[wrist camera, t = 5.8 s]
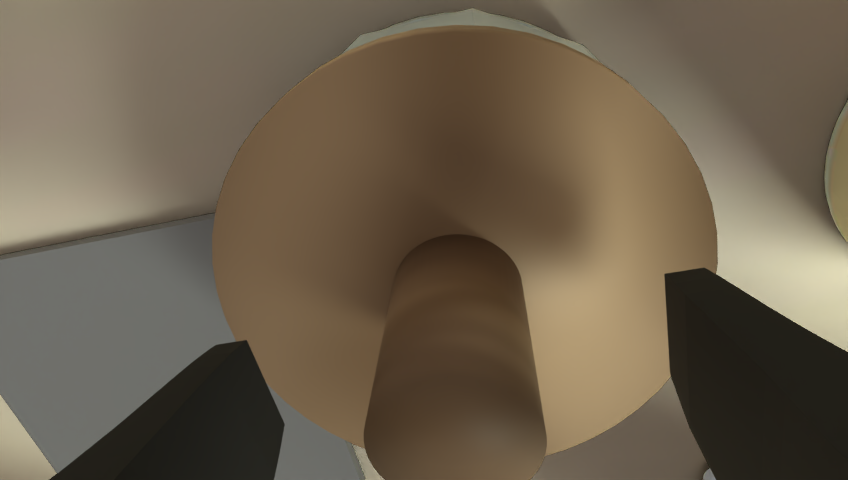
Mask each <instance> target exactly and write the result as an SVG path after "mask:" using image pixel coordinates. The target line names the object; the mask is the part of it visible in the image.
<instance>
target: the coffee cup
mask: <svg viewBox="0 0 848 480" xmlns="http://www.w3.org/2000/svg"><path fill="white" fill-rule="evenodd" d="M824 180H825V194H826V198H827V202H828V205H829V209H830V212H831V216H832V218H833V220H834V222H835V224H836V226H837V228H838V230H839V231H840V233H841V234H842V236H843V237H844V238H845V240H846V241H847V242H848V101H847V103H846V105H845V106H844V108H843V110H842V112H841V114H840V115H839V118H838V119H837V122H836V125H835V128H834V130H833V133H832V136H831V139H830V143H829V147H828V151H827V154H826V163H825V174H824Z"/></svg>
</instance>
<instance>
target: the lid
mask: <svg viewBox="0 0 848 480" xmlns="http://www.w3.org/2000/svg"><path fill="white" fill-rule="evenodd" d="M212 264H213V270H214V277H215V283H216V289H217V293H218V297H219V300H220V303H221V306H222V309H223V313H224V316H225V318H226V321H227V323H228V325H229V327H230V329H231V331H232V333H233V336H234V338H235V340H236V342H237V341H243V340H247V341H248V344H249V346H250V348H251V350H252V353H253V355H254V357H255V359H256V361H257V364H258V366H259V368H260V370H261V372H262V375H263V377H264V379H265V381H266V383H267V384H268V385H269V386H270V387H271V388H272V389H273V390H274V391H275V392H276V393H277V394H278V395H279V396H280V397H281V398H282V399H283V400H284V401H285V402H286V403H287V404H289V405H290V406H291V407H293V408H294V409H295V410H297V411H298V412H299V413H300V414H302V415H303V416H304V417H306V418H307V419H308V420H310V421H312V422H313V423H315V424H317V425H318V426H320V427H321V428H323V429H325V430H326V431H328V432H330V433H331V434H334V435H336V436H338V437H340V438H342V439H344V440H346V441H348V442H350V443H352V444H354V445H357V446H360V447H362V448H365V450H366V453H367V456H368V458H369V460H370V462H371V464H372V465H373V467H374V468H375V469H376V471H377V472H378V473H379V474H380V475H381V476H382V477H383V478H384V479H385V480H530V479H531V478H532V477H533V476H534V475H535V474H536V472H537V471H538V469H539V468H540V466H541V464H542V462H543V460H544V457H545V456H547V455H551V454H554V453H557V452H560V451H563V450H566V449H569V448H571V447H573V446H576V445H578V444H580V443H583V442H585V441H587V440H590V439H592V438H594V437H596V436H597V435H599V434H601V433H603V432H604V431H606V430H608V429H610V428H612V427H613V426H615V425H617V424H618V423H620V422H621V421H622V420H624V419H625V418H627V417H628V416H629V415H631V414H632V413H633V412H635V411H636V410H638V409H639V408H640V407H641V406H642V405H643V404H645V403H646V402H647V401H648V400H649V399H650V398H651V397H652V396H653V395H654V394H655V393H657V392H658V391H659V390H660V389H661V387H662V386H663V385H664V384H665V383H666V382H667V380H668V379H669V378H670V377H671V375H670V365H669V348H668V330H667V313H666V295H665V278H664V274H666V273H672V272H679V271H685V270H691V269H698V268H704V267H705V268H706V269H708V270H710V271H711V272H713V273H715V274H716V271H717V264H718V260H717V230H716V224H715V219H714V213H713V207H712V202H711V200H710V197H709V194H708V191H707V188H706V185H705V182H704V180H703V177H702V174H701V172H700V170H699V168H698V166H697V164H696V163H695V161H694V159H693V157H692V155H691V153H690V152H689V150H688V148H687V146H686V144H685V143H684V141H683V140H682V139H681V138H680V136H679V135H678V134H677V132H676V131H675V130H674V129H673V127H672V126H671V125H670V123H669V122H668V121H667V120H666V118H665V117H664V116H663V115H662V114H661V113H660V112H659V111H658V110H657V109H656V108H655V107H654V106H653V105H652V104H650V103H649V102H648V101H647V100H646V99H645V98H644V97H643V96H642V95H641V94H640V93H639V92H638V91H637V90H636V89H635V88H633V87H632V86H631V85H630V84H629V83H628V82H627V81H626V80H625V79H623V78H622V77H620V76H619V75H617V74H616V73H615V72H613V71H612V70H610V69H609V68H607V67H606V66H604V65H603V64H602V63H600V62H599V61H597V60H595V59H593V58H591V57H589V56H587V55H585V54H583V53H581V52H579V51H577V50H575V49H573V48H571V47H569V46H567V45H565V44H562V43H559V42H556V41H553V40H550V39H547V38H544V37H541V36H538V35H535V34H532V33H528V32H522V31H517V30H511V29H505V28H500V27H494V26H474V25H448V26H438V27H427V28H418V29H414V30H409V31H405V32H401V33H397V34H393V35H389V36H385V37H381V38H379V39H376V40H374V41H371V42H369V43H366V44H363V45H361V46H358V47H356V48H353V49H351V50H349V51H347V52H345V53H343V54H342V55H340V56H338V57H336V58H334V59H333V60H331V61H329V62H327V63H326V64H324V65H322V66H320V67H319V68H317V69H316V70H315V71H314V72H312V73H311V74H310V75H308V76H307V77H306V78H305V79H303V80H302V81H301V82H300V83H298V84H297V85H296V86H294V87H293V88H292V89H291V90H290V91H289V92H288V93H286V94H285V95H284V96H283V97H282V98H281V99H280V100H279V101H278V102H277V103H276V104H275V105H274V106H273V107H272V108H271V110H270V111H269V112H268V113H267V114H266V115H265V116H264V117H263V118H262V119H261V120H260V121H259V122H258V123H257V125H256V126H255V127H254V129H253V130H252V132H251V133H250V135H249V136H248V137H247V139H246V140H245V142H244V143H243V145H242V146H241V148H240V149H239V151H238V153H237V155H236V157H235V159H234V161H233V163H232V165H231V167H230V169H229V171H228V173H227V175H226V177H225V180H224V183H223V186H222V190H221V193H220V196H219V199H218V203H217V206H216V212H215V219H214V226H213V233H212Z"/></svg>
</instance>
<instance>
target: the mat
mask: <svg viewBox="0 0 848 480" xmlns="http://www.w3.org/2000/svg"><path fill="white" fill-rule="evenodd" d="M214 219H215V213H212V214H207V215H202V216H197V217H192V218H187V219H182V220H176V221H171V222H166V223H161V224H156V225H151V226H146V227H141V228H136V229H131V230H126V231H121V232H116V233H111V234H105V235H100V236H95V237H90V238H85V239H80V240H75V241H70V242H65V243H60V244H55V245H50V246H45V247H39V248H34V249H29V250H24V251H19V252H14V253H9V254H4V255H0V395H1V396H2V397H3V399H4V400H5V402H6V403H7V404H8V406H9V407H10V409H11V410H12V411H13V413H14V414H15V415H16V417H17V418H18V420H19V421H20V422H21V424H22V425H23V427H24V428H25V429H26V431H27V432H28V434H29V435H30V436H31V438H32V439H33V441H34V442H35V443H36V445H37V446H38V448H39V449H40V450H41V452H42V453H43V454H44V456H45V457H46V459H47V460H48V461H49V463H50V464H51V466H52V467H53V468H54V470H55V471H56V473H59V472H60V471H61V470H62V469H64V468H65V467H66V466H67V465H69V464H70V463H71V462H72V461H74V460H75V459H76V458H77V457H79V456H80V455H81V454H82V453H84V452H85V451H86V450H87V449H89V448H90V447H91V446H92V445H94V444H95V443H96V442H97V441H99V440H100V439H101V438H102V437H104V436H105V435H106V434H107V433H109V432H110V431H111V430H112V429H114V428H115V427H116V426H117V425H118V424H120V423H121V422H122V421H123V420H124V419H126V418H127V417H128V416H129V415H130V414H131V413H133V412H134V411H135V410H136V409H137V408H138V407H140V406H141V405H142V404H143V403H144V402H146V401H147V400H148V399H149V398H150V397H151V396H153V395H154V394H155V393H156V392H157V391H158V390H160V389H161V388H162V387H163V386H164V385H166V384H167V383H168V382H169V381H170V380H171V379H173V378H174V377H175V376H176V375H177V374H179V373H180V372H181V371H182V370H183V369H185V368H186V367H187V366H188V365H189V364H191V363H192V362H193V361H194V360H196V359H197V358H198V357H199V356H201V355H202V354H203V353H205V352H206V351H208V350H209V349H210V348H212V347H213V346H215V345H218V344H224V343H230V342H236V340H235V338H234V336H233V333H232V331H231V329H230V327H229V325H228V323H227V321H226V318H225V316H224V313H223V309H222V306H221V303H220V300H219V297H218V293H217V289H216V283H215V277H214V270H213V264H212V233H213V226H214ZM266 384H267V383H266ZM267 386H268V388H269V390H270V392H271V395H272V397H273V399H274V401H275V404H276V406H277V408H278V410H279V412H280V415H281V417H282V419H283V421H284V423H285V426H284V432H283V437H282V443H281V449H280V454H279V459H278V464H277V468H276V473H275V478H274V480H365V477H364V474H363V471H362V469H361V466H360V464H359V461H358V459H357V456H356V454H355V451H354V448H353V446H352V443H350V442H348V441H346V440H344V439H342V438H340V437H338V436H336V435H334V434H331V433H330V432H328V431H326V430H325V429H323V428H321V427H320V426H318V425H317V424H315V423H313V422H312V421H310V420H308V419H307V418H306V417H304V416H303V415H302V414H300V413H299V412H298V411H297V410H295V409H294V408H293V407H291V406H290V405H289V404H287V403H286V402H285V401H284V400H283V399H282V398H281V397H280V396H279V395H278V394H277V393H276V392H275V391H274V390H273V389H272V388H271V387H270V386H269V385H268V384H267Z"/></svg>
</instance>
